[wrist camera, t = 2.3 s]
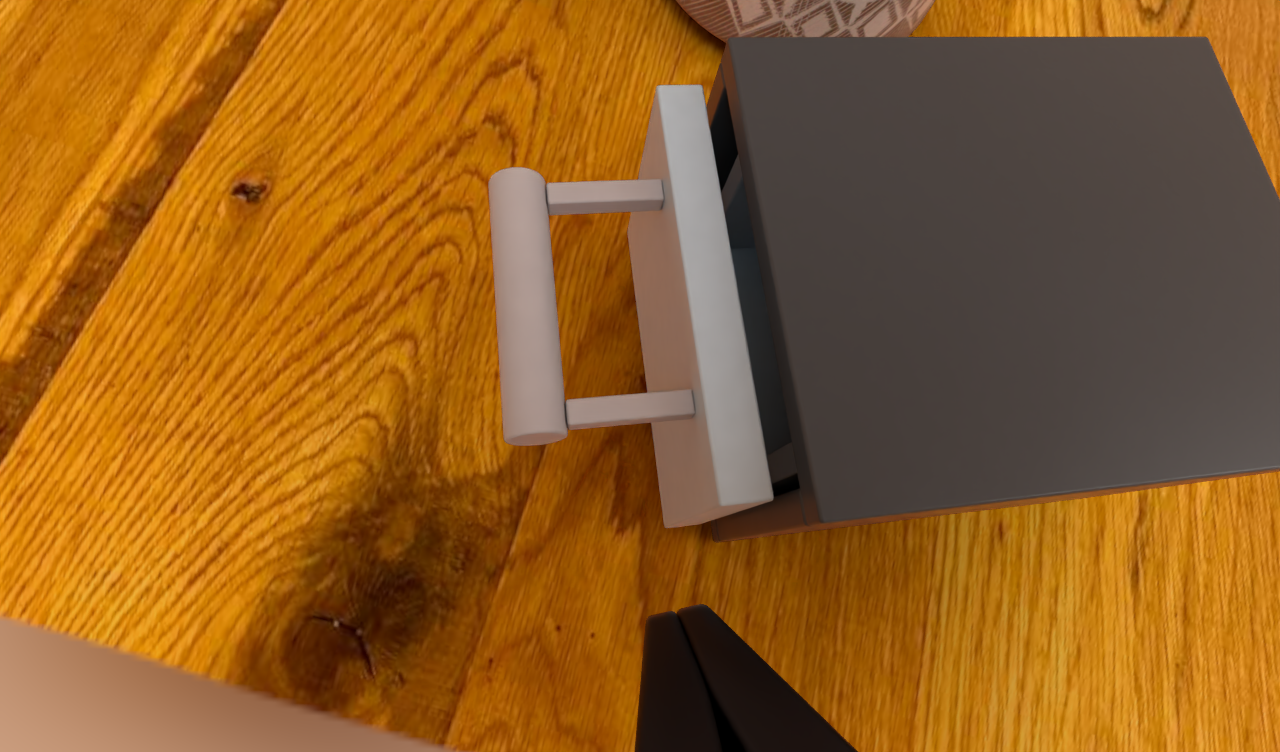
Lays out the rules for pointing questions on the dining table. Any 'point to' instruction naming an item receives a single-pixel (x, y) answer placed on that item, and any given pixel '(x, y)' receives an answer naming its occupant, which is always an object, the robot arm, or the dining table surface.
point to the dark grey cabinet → (1003, 270)
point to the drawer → (654, 319)
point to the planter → (807, 17)
